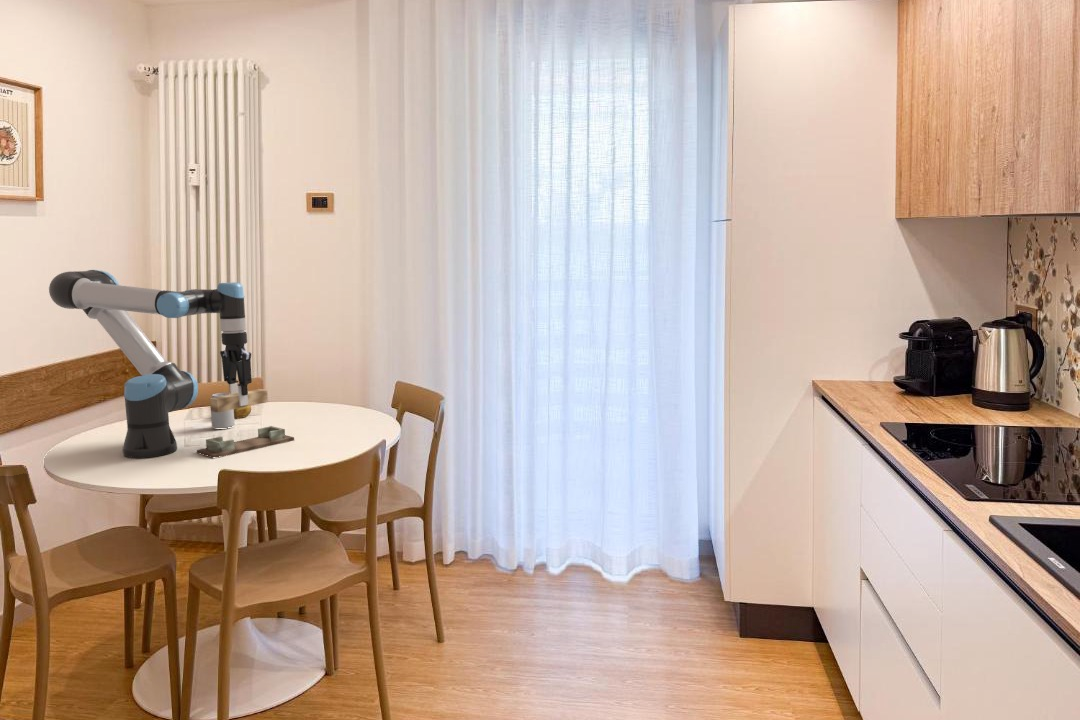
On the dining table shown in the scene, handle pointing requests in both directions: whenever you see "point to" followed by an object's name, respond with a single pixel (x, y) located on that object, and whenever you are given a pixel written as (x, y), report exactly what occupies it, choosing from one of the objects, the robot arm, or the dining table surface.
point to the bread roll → (242, 412)
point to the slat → (237, 400)
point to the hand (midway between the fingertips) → (239, 404)
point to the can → (222, 416)
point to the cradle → (245, 442)
